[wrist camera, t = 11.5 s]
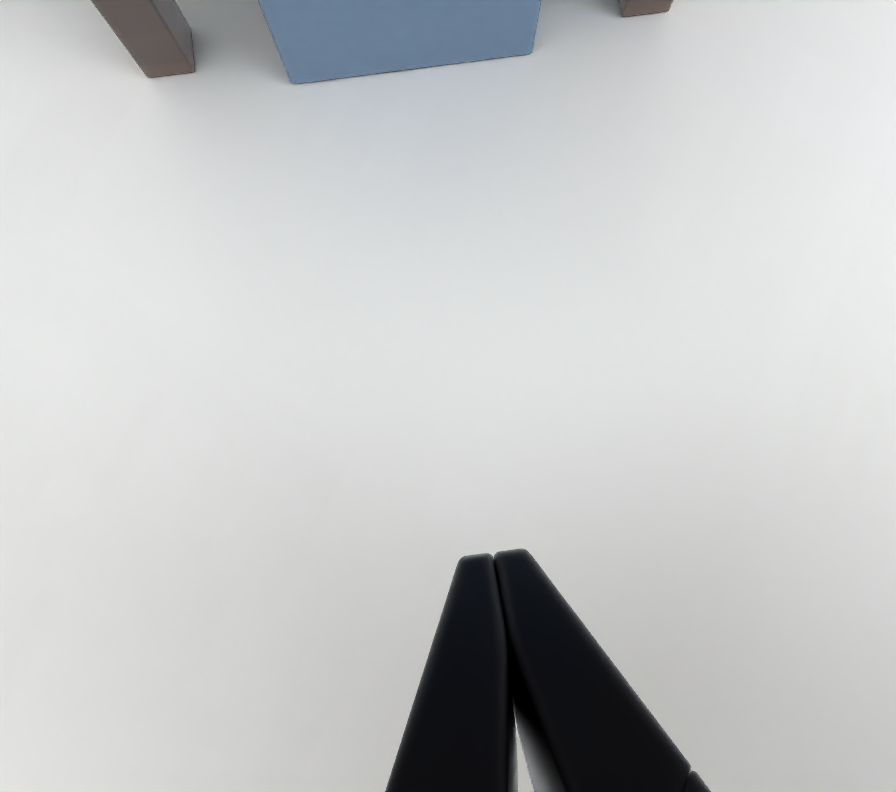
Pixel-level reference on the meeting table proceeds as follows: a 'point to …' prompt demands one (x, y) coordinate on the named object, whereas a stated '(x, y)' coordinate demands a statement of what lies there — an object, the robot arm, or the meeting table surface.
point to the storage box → (394, 34)
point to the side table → (170, 42)
